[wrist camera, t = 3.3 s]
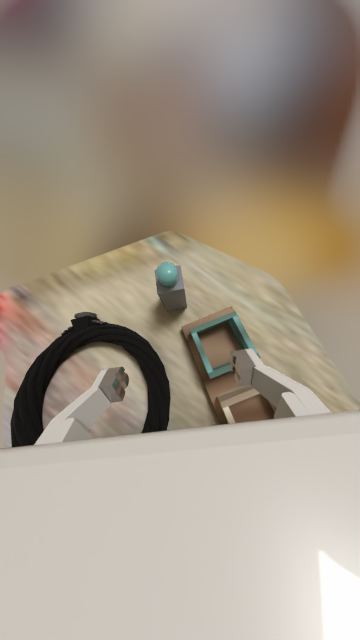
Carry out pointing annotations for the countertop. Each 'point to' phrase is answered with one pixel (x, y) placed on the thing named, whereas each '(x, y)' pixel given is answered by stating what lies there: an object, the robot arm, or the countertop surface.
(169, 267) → the knob
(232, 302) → the countertop surface
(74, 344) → the cable lock
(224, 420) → the brown divided tray
